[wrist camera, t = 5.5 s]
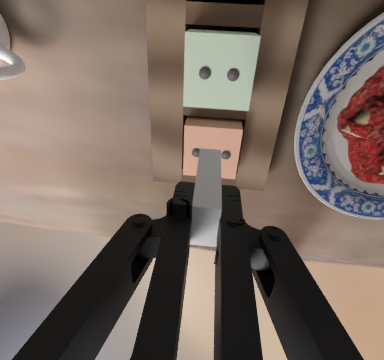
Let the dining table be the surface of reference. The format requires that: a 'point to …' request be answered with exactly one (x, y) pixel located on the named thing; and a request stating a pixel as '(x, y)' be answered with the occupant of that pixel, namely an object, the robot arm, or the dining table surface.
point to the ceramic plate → (346, 127)
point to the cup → (8, 55)
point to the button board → (252, 120)
